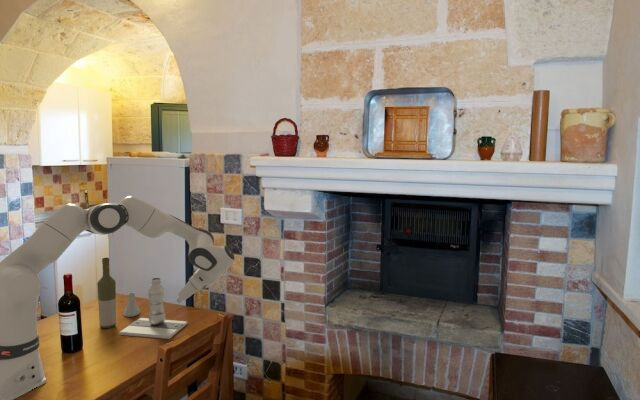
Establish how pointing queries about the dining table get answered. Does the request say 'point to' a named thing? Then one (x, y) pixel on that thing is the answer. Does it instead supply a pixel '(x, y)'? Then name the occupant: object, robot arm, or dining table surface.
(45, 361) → the dining table surface
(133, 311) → the flask
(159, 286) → the plastic bottle
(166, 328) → the white book
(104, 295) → the bottle
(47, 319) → the dining table surface
